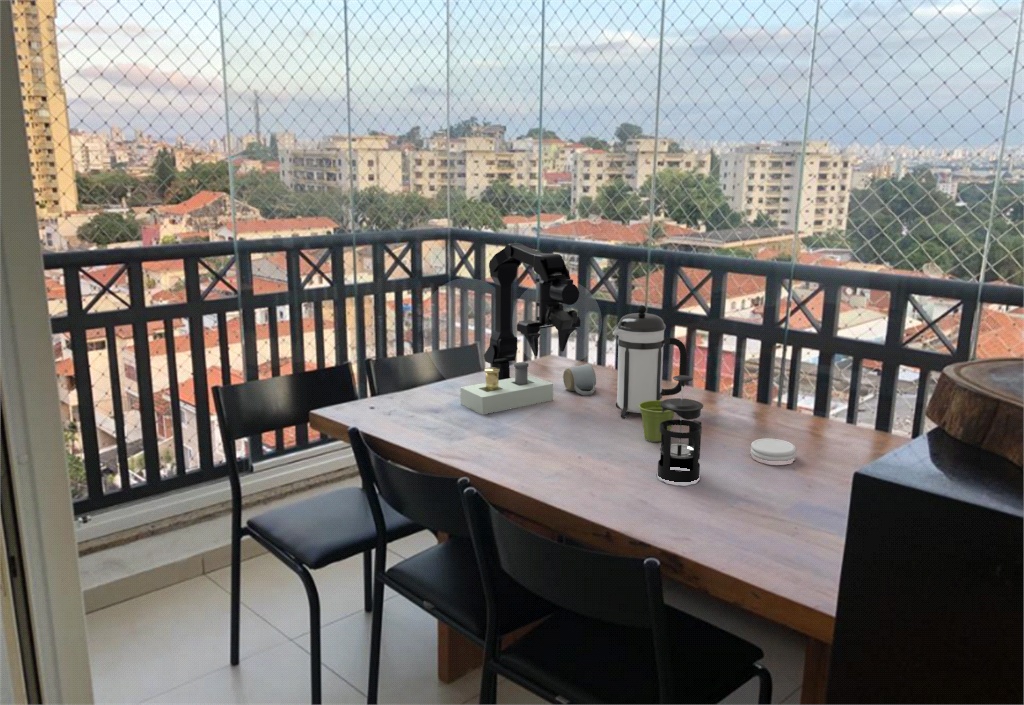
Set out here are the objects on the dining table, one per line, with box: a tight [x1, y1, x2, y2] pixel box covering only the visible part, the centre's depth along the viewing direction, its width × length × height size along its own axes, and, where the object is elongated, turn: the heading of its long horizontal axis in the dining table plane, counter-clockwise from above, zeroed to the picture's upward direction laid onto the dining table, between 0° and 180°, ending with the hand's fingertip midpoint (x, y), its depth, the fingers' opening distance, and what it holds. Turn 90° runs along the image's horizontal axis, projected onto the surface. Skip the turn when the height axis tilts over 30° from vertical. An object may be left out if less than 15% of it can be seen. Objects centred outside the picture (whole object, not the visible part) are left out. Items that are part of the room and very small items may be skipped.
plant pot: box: [639, 400, 676, 442], centre depth 196 cm, size 9×9×9 cm
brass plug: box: [484, 366, 499, 392], centre depth 224 cm, size 4×4×8 cm
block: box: [459, 374, 554, 415], centre depth 228 cm, size 12×24×5 cm, turn 123°
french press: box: [657, 374, 704, 482], centre depth 171 cm, size 12×9×23 cm
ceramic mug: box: [562, 363, 597, 397], centre depth 238 cm, size 11×8×8 cm
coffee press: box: [612, 304, 688, 419], centre depth 215 cm, size 17×16×30 cm
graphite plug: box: [513, 361, 529, 386], centre depth 229 cm, size 4×4×8 cm
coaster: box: [750, 437, 797, 461], centre depth 184 cm, size 10×10×4 cm
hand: (549, 353), depth 225 cm, fingers open, 9 cm apart
